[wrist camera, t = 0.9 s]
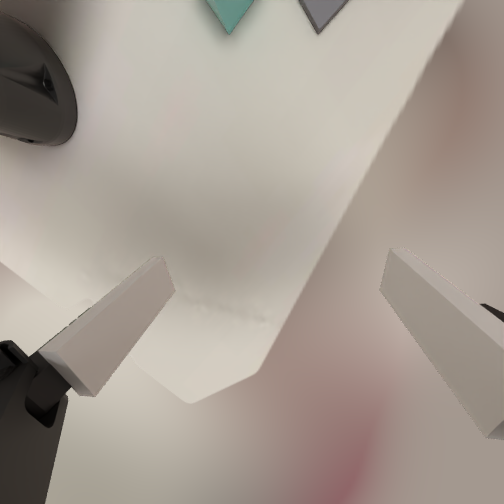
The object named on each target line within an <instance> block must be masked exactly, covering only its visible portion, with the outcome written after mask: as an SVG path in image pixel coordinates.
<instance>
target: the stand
mask: <svg viewBox="0 0 504 504" xmlns="http://www.w3.org/2000/svg"><path fill="white" fill-rule="evenodd" d="M299 1H300V3H301V5H302V7H303V8H304V10H305V12H306V14H307V16H308V17H309V19H310V21H311V23H312V25H313V26H314V28H315V30H316V32H317V34H319V33H320V32H321V31H322V29H323V28H324V27H325V26H326V25H327V24H328V23H329V22H330V20H331V19H332V18H333V17H334V16H335V15H336V14H337V13H338V12H339V10H340V9H341V8H342V7H343V6H344V5H345V4H346V3H347V1H348V0H299Z"/></svg>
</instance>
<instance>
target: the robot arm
mask: <svg viewBox="0 0 504 504" xmlns="http://www.w3.org/2000/svg"><path fill="white" fill-rule="evenodd" d="M76 117H77V110H76V101H75V96H74V92H73V89H72V86H71V83H70V80H69V78H68V76H67V73H66V71H65V69H64V68H63V66H62V64H61V62H60V61H59V59H58V57H57V56H56V54H55V53H54V52H53V50H52V49H51V48H50V46H49V45H48V44H47V43H46V42H45V41H44V40H43V39H42V38H41V37H40V36H39V35H38V34H37V33H36V32H35V31H34V30H33V29H31V28H30V27H28V26H27V25H25V24H24V23H22V22H20V21H18V20H16V19H14V18H12V17H10V16H8V15H6V14H4V13H2V12H0V135H3V136H6V137H10V138H13V139H17V140H20V141H22V142H26V143H29V144H34V145H50V146H53V145H59V144H62V143H64V142H65V141H67V140H68V139H69V138H70V136H71V135H72V133H73V131H74V128H75V124H76ZM174 292H175V288H174V285H173V283H172V280H171V277H170V274H169V272H168V269H167V266H166V263H165V261H164V258H163V257H152V258H151V259H149V260H148V261H147V262H146V263H145V264H143V265H142V266H141V267H140V268H138V269H137V270H136V271H135V272H134V273H132V274H131V275H130V276H129V277H127V278H126V279H125V280H124V281H123V282H121V283H120V284H119V285H118V286H116V287H115V288H114V289H113V290H112V291H110V292H109V293H108V294H107V295H105V296H104V297H103V298H102V299H101V300H99V301H98V302H97V303H96V304H94V305H93V306H92V307H91V308H89V309H88V310H86V311H85V312H84V313H83V314H81V315H80V316H79V317H78V318H77V319H75V320H74V321H73V322H71V323H70V324H69V326H67V327H65V328H64V329H63V330H62V331H60V333H58V334H57V335H55V336H54V337H53V338H52V339H51V340H49V341H48V342H47V343H46V344H44V345H43V346H42V347H41V348H40V349H38V350H37V351H36V352H35V353H33V354H32V355H31V356H29V357H28V356H27V355H26V354H25V353H24V352H23V351H22V350H21V349H20V348H19V347H18V346H17V345H16V344H15V343H14V342H13V341H11V340H7V341H2V342H0V504H45V501H46V497H47V492H48V488H49V483H50V479H51V475H52V470H53V466H54V462H55V457H56V453H57V448H58V444H59V439H60V435H61V431H62V426H63V422H64V417H65V413H66V409H67V404H68V396H67V395H66V394H65V393H66V392H67V391H68V390H69V389H70V388H71V387H72V388H73V389H74V390H75V391H76V392H77V394H79V395H80V396H90V397H96V395H97V394H98V393H99V391H100V390H101V389H102V387H103V386H104V385H105V384H106V382H107V381H108V380H109V378H110V377H111V376H112V374H113V373H114V372H115V370H116V369H117V368H118V366H119V365H120V364H121V362H122V361H123V360H124V358H125V357H126V356H127V354H128V353H129V352H130V350H131V349H132V348H133V347H134V345H135V344H136V343H137V341H138V340H139V339H140V337H141V336H142V335H143V333H144V332H145V331H146V329H147V328H148V327H149V325H150V324H151V323H152V321H153V320H154V319H155V317H156V316H157V315H158V313H159V312H160V311H161V310H162V308H163V307H164V306H165V304H166V303H167V302H168V300H169V299H170V298H171V296H172V295H173V294H174ZM380 292H381V293H382V295H383V296H384V297H385V299H386V300H387V301H388V303H389V304H390V305H391V307H392V308H393V310H394V311H395V313H396V314H397V315H398V317H399V318H400V320H401V321H402V322H403V324H404V325H405V327H406V328H407V329H408V331H409V332H410V333H411V335H412V336H413V337H414V339H415V340H416V342H417V343H418V344H419V346H420V347H421V349H422V350H423V352H424V353H425V354H426V356H427V357H428V359H429V360H430V361H431V363H432V364H433V365H434V367H435V368H436V370H437V371H438V372H439V374H440V375H441V377H442V378H443V379H444V381H445V382H446V383H447V385H448V386H449V388H450V389H451V390H452V392H453V393H454V395H455V396H456V397H457V399H458V400H459V402H460V403H461V404H462V406H463V407H464V409H465V410H466V411H467V412H468V414H469V415H470V417H471V418H472V420H473V421H474V422H475V424H476V425H477V427H478V428H479V429H480V431H481V432H482V434H483V435H484V436H485V438H491V439H499V440H504V313H503V312H501V311H499V310H497V309H495V308H493V307H491V306H489V305H486V304H479V303H477V302H476V301H475V300H473V299H472V298H471V297H469V296H468V295H467V294H466V293H464V292H463V291H461V290H460V289H459V288H458V287H456V286H455V285H453V284H452V283H451V282H450V281H448V280H447V279H446V278H445V277H443V276H442V275H441V274H439V273H438V272H437V271H435V270H434V269H433V268H431V267H430V266H429V265H427V264H426V263H425V262H423V261H422V260H421V259H420V258H418V257H417V256H415V255H414V254H413V253H412V252H410V251H409V250H408V249H406V248H391V249H389V252H388V257H387V261H386V265H385V269H384V273H383V277H382V282H381V286H380Z"/></svg>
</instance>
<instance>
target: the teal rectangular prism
mask: <svg viewBox="0 0 504 504" xmlns="http://www.w3.org/2000/svg"><path fill="white" fill-rule="evenodd" d="M206 1H207V3H208V4H209V6H210V7H211V9H212V10H213V11H214V13H215V14H216V16H217V17H218V19H219V20H220V22H221V23H222V25H223V26H224V28H225V29H226V31H227V32H228V34H230V33H231V32H232V30H233V29H234V27H235V26H236V25H237V23H238V22H239V20H240V19H241V17H242V16H243V15H244V13H245V12H246V10H247V9H248V8H249V6H250V5H251V3H252V2H253V0H206Z"/></svg>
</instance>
